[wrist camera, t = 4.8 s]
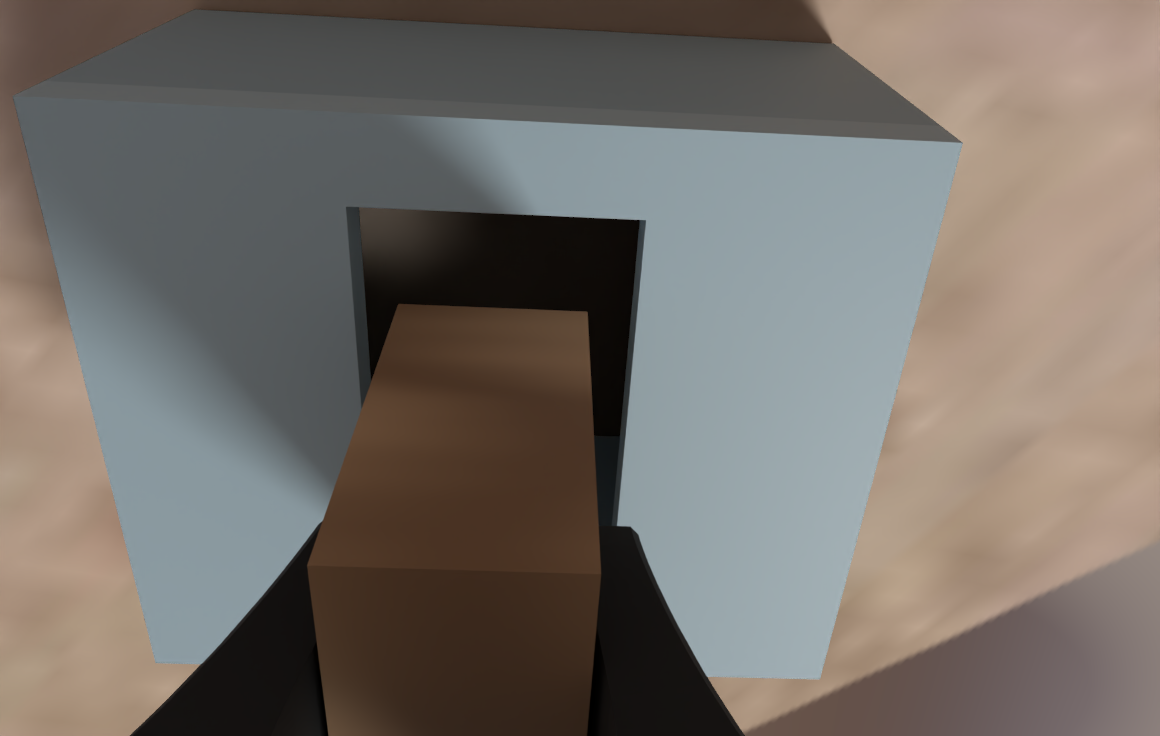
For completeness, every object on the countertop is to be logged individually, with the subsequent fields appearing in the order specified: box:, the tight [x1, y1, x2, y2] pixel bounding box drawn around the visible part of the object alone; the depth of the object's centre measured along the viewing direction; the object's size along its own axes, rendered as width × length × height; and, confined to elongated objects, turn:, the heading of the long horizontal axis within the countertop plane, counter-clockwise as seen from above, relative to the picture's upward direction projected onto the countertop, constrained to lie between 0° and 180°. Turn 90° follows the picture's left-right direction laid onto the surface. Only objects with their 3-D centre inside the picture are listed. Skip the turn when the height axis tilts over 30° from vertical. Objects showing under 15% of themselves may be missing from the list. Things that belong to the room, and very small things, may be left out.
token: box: [307, 304, 601, 736], centre depth 11 cm, size 2×6×5 cm, turn 177°
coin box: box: [13, 9, 963, 679], centre depth 17 cm, size 12×10×6 cm
